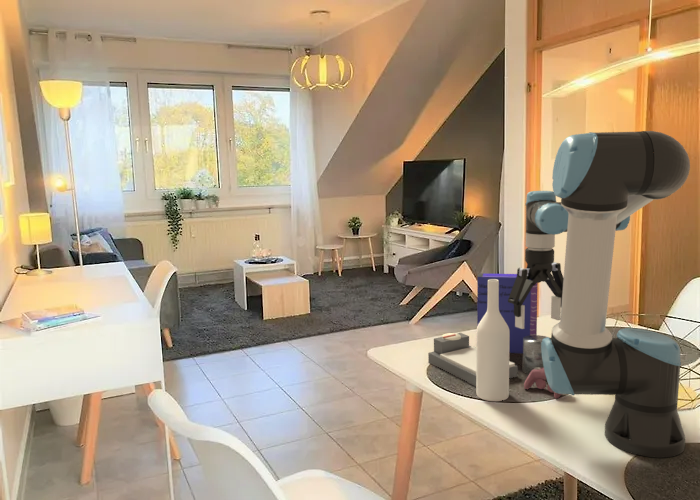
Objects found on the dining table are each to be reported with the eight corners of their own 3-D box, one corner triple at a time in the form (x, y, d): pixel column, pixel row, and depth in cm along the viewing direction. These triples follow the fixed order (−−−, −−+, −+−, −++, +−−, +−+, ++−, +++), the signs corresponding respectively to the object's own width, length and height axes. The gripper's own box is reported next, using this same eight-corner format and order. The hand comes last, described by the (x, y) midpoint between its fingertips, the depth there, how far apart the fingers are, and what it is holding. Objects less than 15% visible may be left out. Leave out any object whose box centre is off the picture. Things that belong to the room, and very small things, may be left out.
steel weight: (552, 376, 157) (553, 345, 156) (522, 374, 160) (522, 343, 158) (551, 366, 165) (552, 336, 163) (522, 364, 167) (523, 334, 166)
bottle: (488, 404, 142) (489, 285, 137) (470, 392, 149) (469, 278, 144) (515, 398, 145) (517, 281, 140) (496, 386, 152) (496, 275, 147)
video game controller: (564, 401, 145) (571, 374, 147) (557, 399, 142) (563, 371, 144) (529, 390, 153) (535, 365, 154) (521, 388, 150) (527, 361, 151)
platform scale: (517, 376, 158) (517, 349, 157) (477, 387, 152) (477, 359, 151) (464, 352, 178) (464, 328, 177) (426, 361, 172) (426, 336, 171)
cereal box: (535, 349, 179) (536, 273, 175) (536, 354, 175) (537, 277, 171) (477, 346, 184) (477, 272, 180) (477, 351, 179) (477, 276, 175)
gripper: (561, 241, 166) (559, 312, 169) (494, 251, 154) (494, 327, 158) (583, 244, 159) (580, 318, 163) (515, 255, 148) (513, 335, 151)
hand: (537, 323), depth 160 cm, fingers open, 13 cm apart
